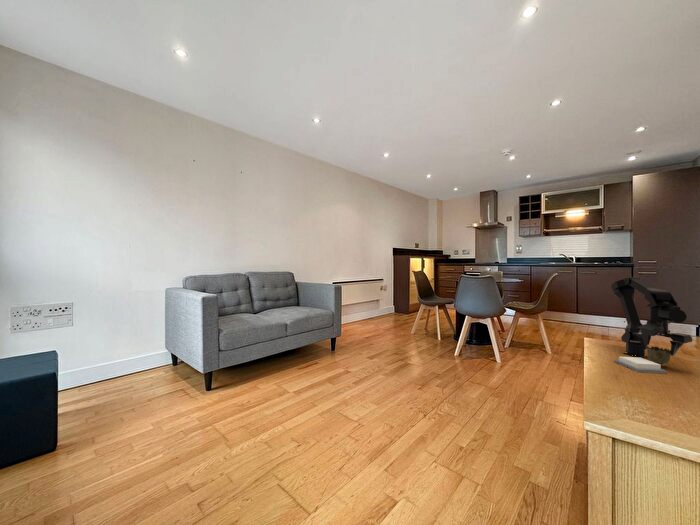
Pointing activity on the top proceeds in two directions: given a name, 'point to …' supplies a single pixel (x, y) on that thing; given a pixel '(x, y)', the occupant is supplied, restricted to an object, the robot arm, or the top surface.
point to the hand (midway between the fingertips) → (658, 352)
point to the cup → (659, 355)
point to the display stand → (640, 365)
